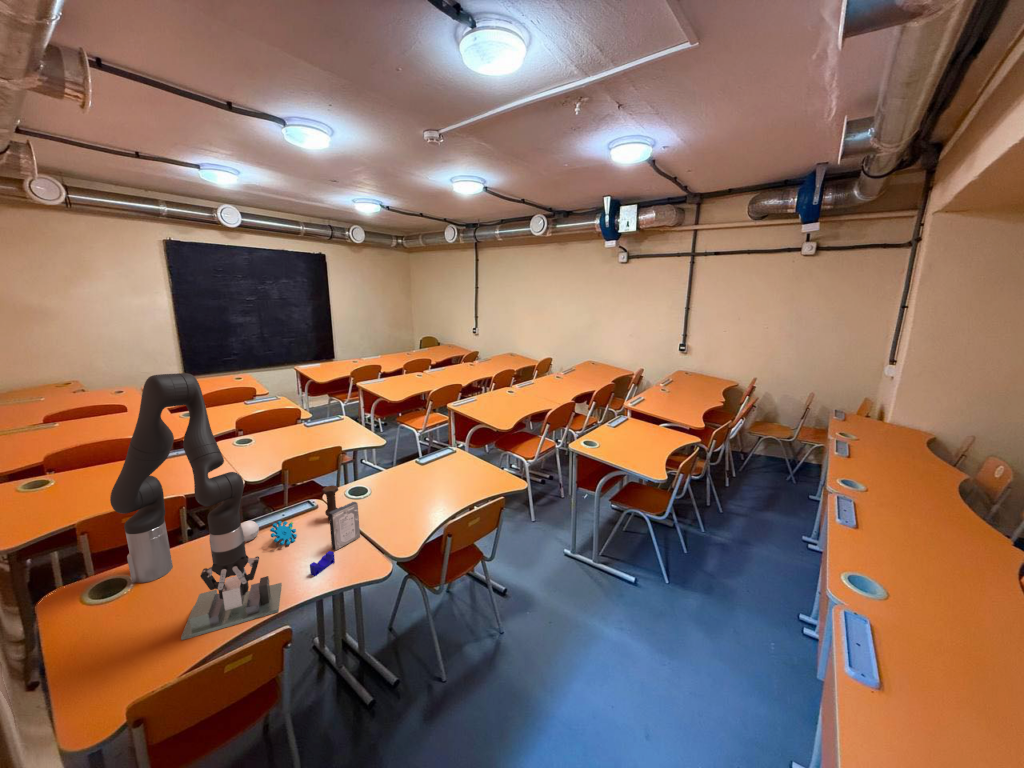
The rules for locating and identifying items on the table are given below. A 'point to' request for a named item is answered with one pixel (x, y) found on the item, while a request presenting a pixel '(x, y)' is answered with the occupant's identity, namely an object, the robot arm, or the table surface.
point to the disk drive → (344, 525)
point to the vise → (225, 612)
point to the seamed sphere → (249, 530)
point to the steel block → (232, 593)
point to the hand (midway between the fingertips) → (235, 595)
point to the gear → (283, 532)
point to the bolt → (330, 498)
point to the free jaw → (258, 595)
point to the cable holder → (322, 563)
